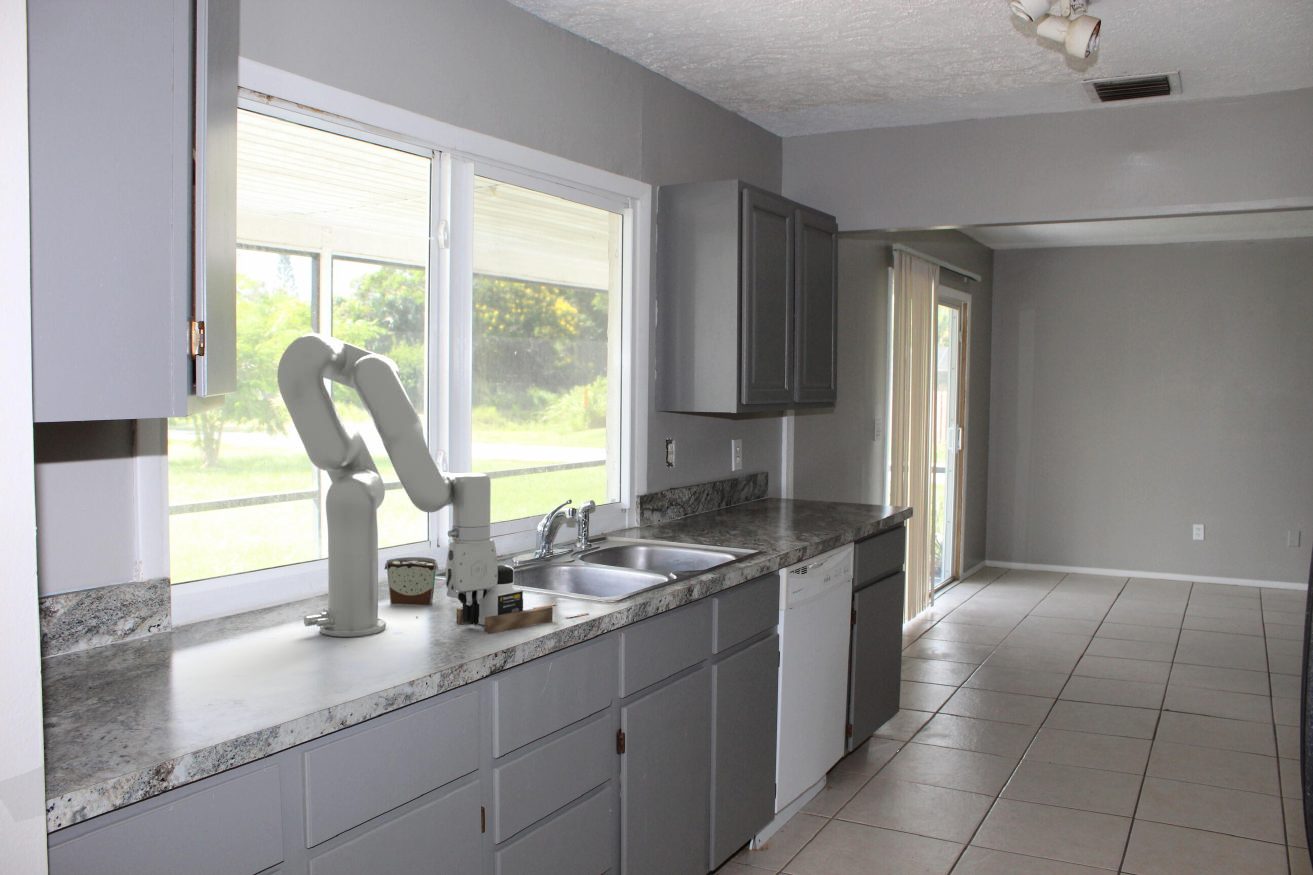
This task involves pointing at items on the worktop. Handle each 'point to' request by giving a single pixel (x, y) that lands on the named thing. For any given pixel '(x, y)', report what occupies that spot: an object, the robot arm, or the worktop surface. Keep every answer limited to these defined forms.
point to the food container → (411, 580)
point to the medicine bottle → (501, 596)
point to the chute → (513, 619)
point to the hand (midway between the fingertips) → (470, 622)
